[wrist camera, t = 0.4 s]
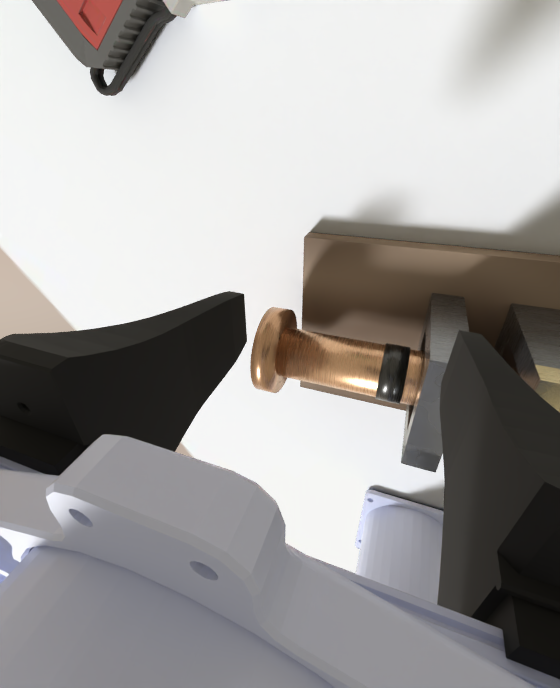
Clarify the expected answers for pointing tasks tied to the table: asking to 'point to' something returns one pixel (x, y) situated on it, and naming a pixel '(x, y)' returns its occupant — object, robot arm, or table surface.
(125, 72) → the walkie-talkie
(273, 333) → the tan flared rod
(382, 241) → the base board
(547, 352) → the block with square hole
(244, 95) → the table surface
